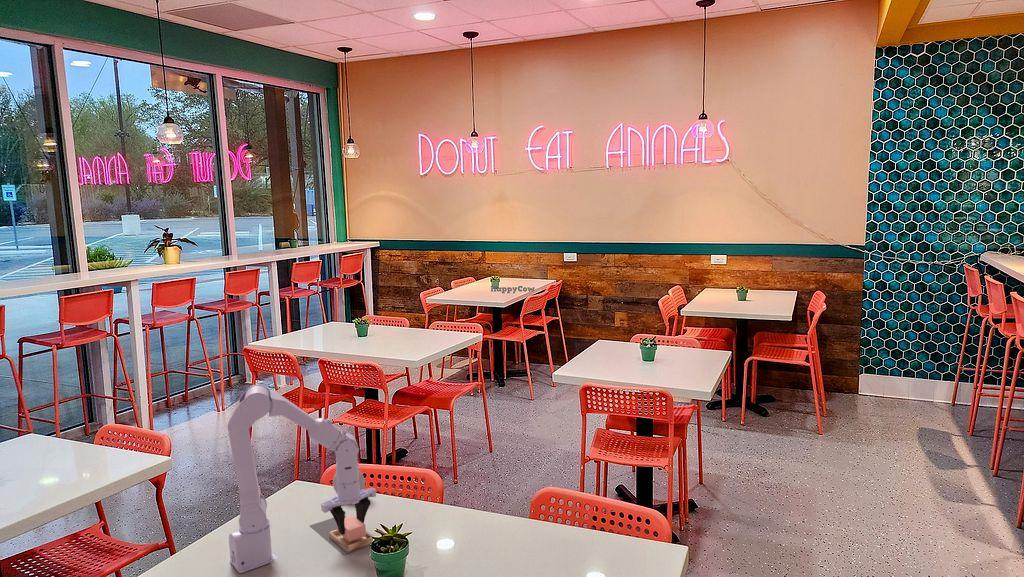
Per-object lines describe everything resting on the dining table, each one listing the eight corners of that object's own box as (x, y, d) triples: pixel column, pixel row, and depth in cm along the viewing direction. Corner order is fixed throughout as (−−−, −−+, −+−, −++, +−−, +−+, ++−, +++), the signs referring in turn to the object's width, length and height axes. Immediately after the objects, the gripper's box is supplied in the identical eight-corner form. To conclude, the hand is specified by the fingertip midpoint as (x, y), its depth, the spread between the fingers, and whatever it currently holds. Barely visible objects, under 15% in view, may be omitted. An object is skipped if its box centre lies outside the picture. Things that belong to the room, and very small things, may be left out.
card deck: (336, 531, 178) (336, 520, 178) (352, 525, 181) (352, 515, 181) (349, 541, 172) (348, 530, 172) (365, 535, 175) (365, 524, 175)
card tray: (347, 553, 170) (346, 547, 170) (329, 538, 179) (328, 532, 178) (374, 542, 175) (374, 537, 175) (356, 528, 183) (355, 523, 183)
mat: (344, 557, 169) (344, 555, 169) (309, 527, 186) (309, 525, 186) (379, 544, 175) (379, 542, 175) (342, 516, 192) (342, 514, 192)
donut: (367, 496, 206) (365, 464, 205) (364, 501, 202) (362, 469, 201) (336, 496, 207) (334, 464, 206) (332, 500, 203) (329, 469, 202)
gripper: (328, 492, 167) (331, 544, 169) (380, 476, 176) (383, 526, 178) (316, 484, 173) (320, 534, 174) (367, 469, 182) (370, 517, 183)
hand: (351, 529), depth 177 cm, fingers closed on card deck, 5 cm apart
